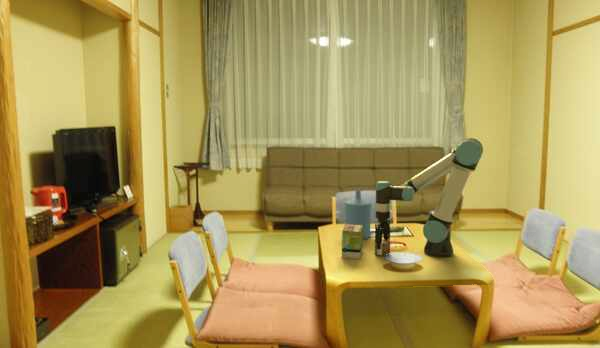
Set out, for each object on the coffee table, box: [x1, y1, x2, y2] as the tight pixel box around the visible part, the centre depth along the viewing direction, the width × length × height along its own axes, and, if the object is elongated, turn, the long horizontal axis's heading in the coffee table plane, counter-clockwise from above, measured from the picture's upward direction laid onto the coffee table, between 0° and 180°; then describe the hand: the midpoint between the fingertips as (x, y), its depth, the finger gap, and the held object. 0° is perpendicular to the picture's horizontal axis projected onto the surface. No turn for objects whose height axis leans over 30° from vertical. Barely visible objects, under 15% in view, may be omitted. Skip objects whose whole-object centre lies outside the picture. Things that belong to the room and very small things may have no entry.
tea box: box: [341, 223, 364, 260], centre depth 259 cm, size 15×10×15 cm
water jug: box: [344, 189, 372, 240], centre depth 293 cm, size 16×16×28 cm
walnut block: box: [374, 238, 391, 257], centre depth 259 cm, size 6×6×7 cm
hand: (382, 253), depth 260 cm, fingers closed on walnut block, 6 cm apart
